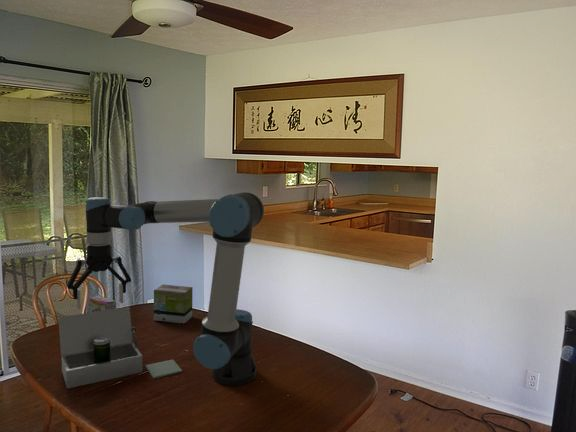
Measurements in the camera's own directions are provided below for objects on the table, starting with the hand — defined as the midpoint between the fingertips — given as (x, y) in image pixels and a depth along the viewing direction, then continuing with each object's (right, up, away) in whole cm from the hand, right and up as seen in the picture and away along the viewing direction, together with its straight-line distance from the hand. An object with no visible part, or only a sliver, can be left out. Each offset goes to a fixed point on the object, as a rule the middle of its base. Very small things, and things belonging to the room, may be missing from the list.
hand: (100, 305), depth 159 cm
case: (-1, -23, +6) cm, 24 cm away
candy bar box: (-12, -20, +32) cm, 40 cm away
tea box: (+11, -17, +56) cm, 60 cm away
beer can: (-1, -24, +3) cm, 24 cm away
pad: (+20, -24, +6) cm, 32 cm away
